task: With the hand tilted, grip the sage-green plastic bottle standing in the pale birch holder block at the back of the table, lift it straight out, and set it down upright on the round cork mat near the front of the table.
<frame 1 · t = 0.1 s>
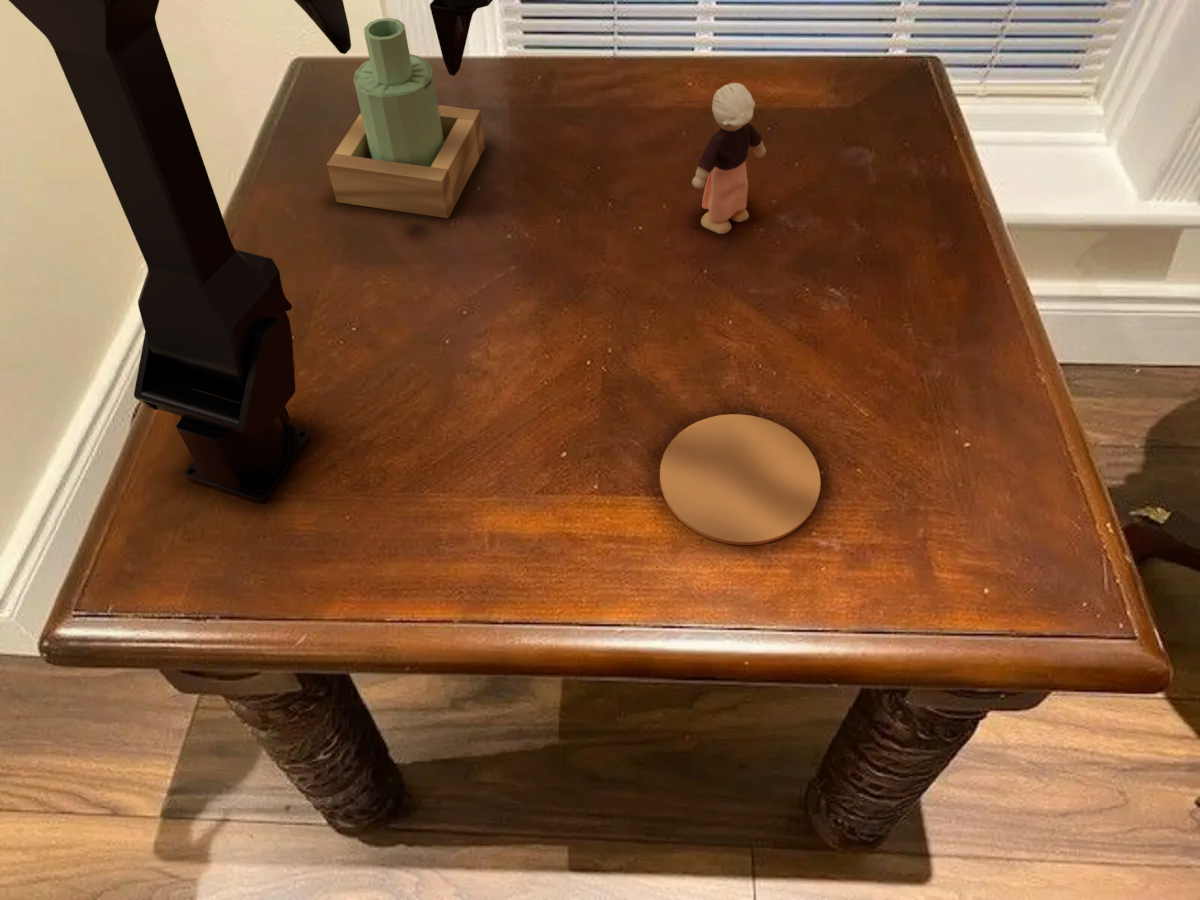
hand: (399, 61, 78), 15 cm above the table, tool pointing down, fingers open, 9 cm apart
bottle: (399, 106, 88), in the holder
mat: (739, 478, 71), on the table
grandmother figurine: (720, 222, 88), on the table
holder: (412, 174, 93), on the table
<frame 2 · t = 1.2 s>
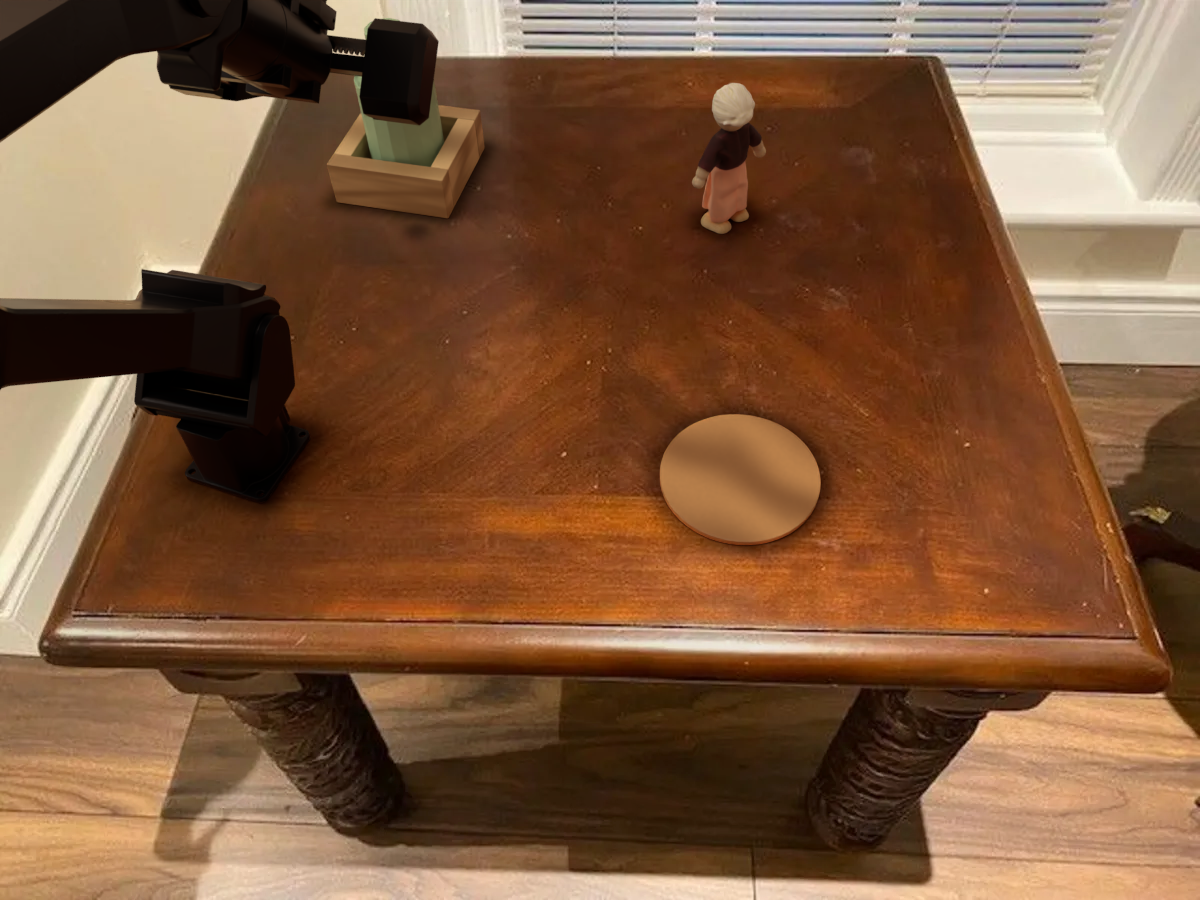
hand: (350, 89, 78), 13 cm above the table, tool tilted 45°, fingers open, 9 cm apart
nothing on the table moved.
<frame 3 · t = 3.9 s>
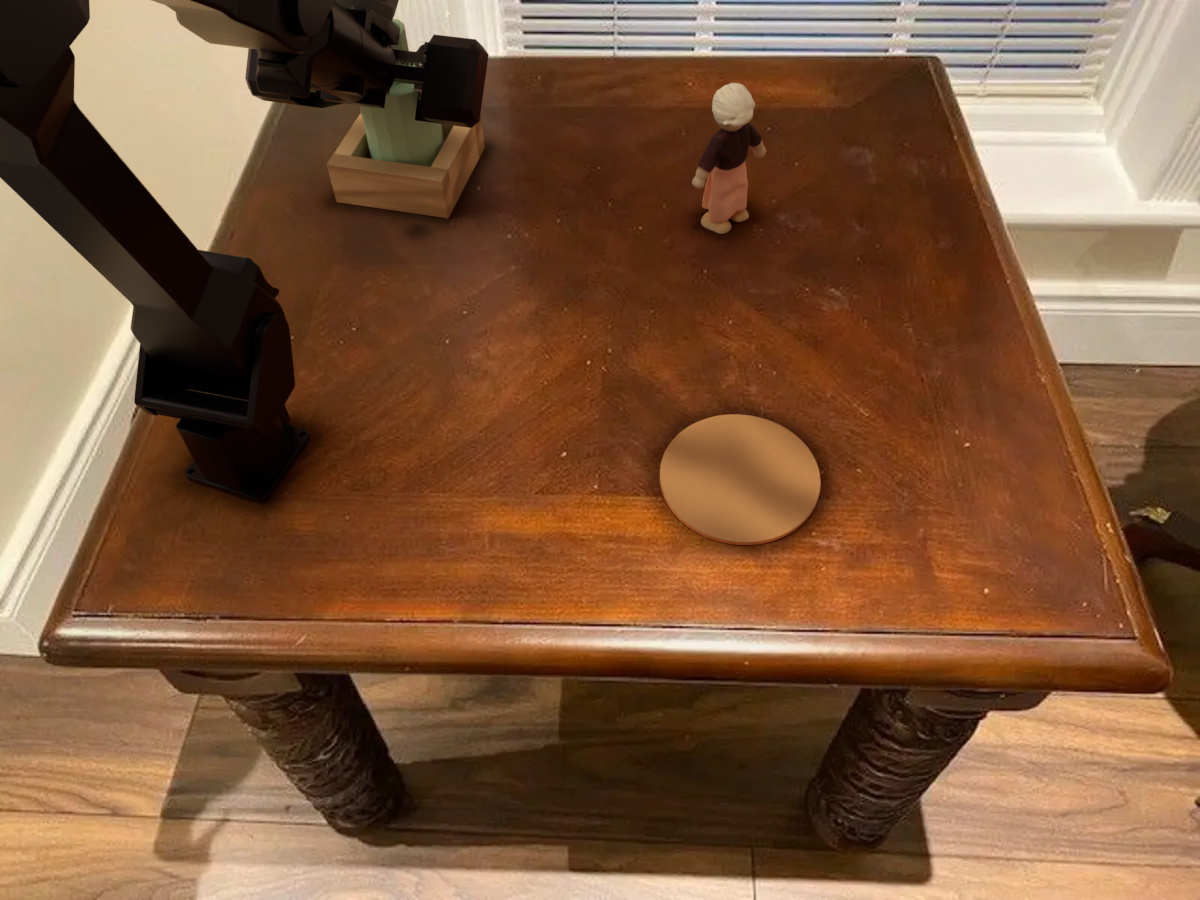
hand: (405, 95, 88), 7 cm above the table, tool tilted 45°, fingers closed on bottle, 6 cm apart
bottle: (399, 106, 88), in the holder, touching gripper
everything else where it was.
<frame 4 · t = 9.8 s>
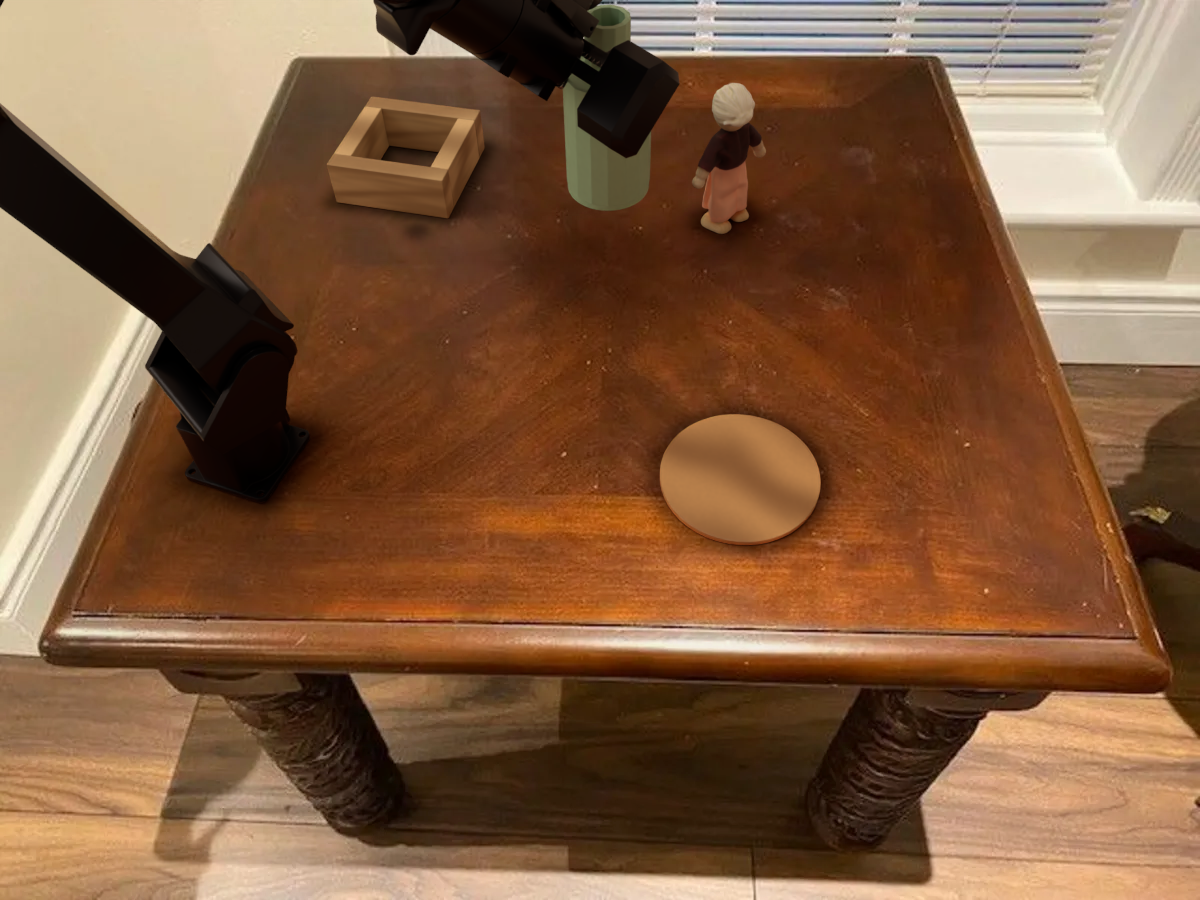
hand: (622, 99, 76), 13 cm above the table, tool tilted 45°, fingers closed on bottle, 6 cm apart
bottle: (607, 106, 76), point 13 cm above the table, touching gripper
everything else where it was.
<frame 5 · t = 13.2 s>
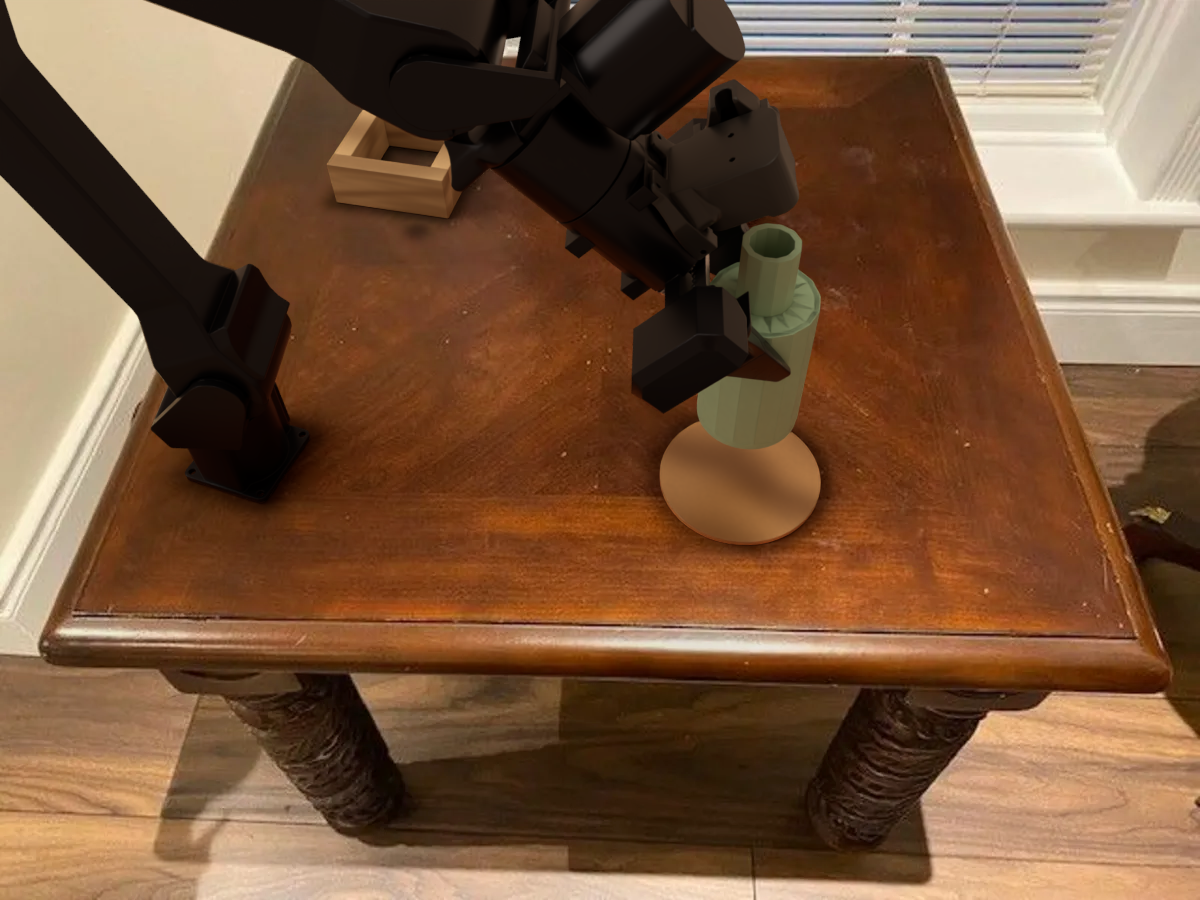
hand: (780, 334, 61), 13 cm above the table, tool tilted 45°, fingers closed on bottle, 6 cm apart
bottle: (758, 334, 61), point 13 cm above the table, touching gripper
everything else where it was.
when the fingers open (8 cm above the table, at t = 16.0 s): bottle stays where it is, resting on mat.
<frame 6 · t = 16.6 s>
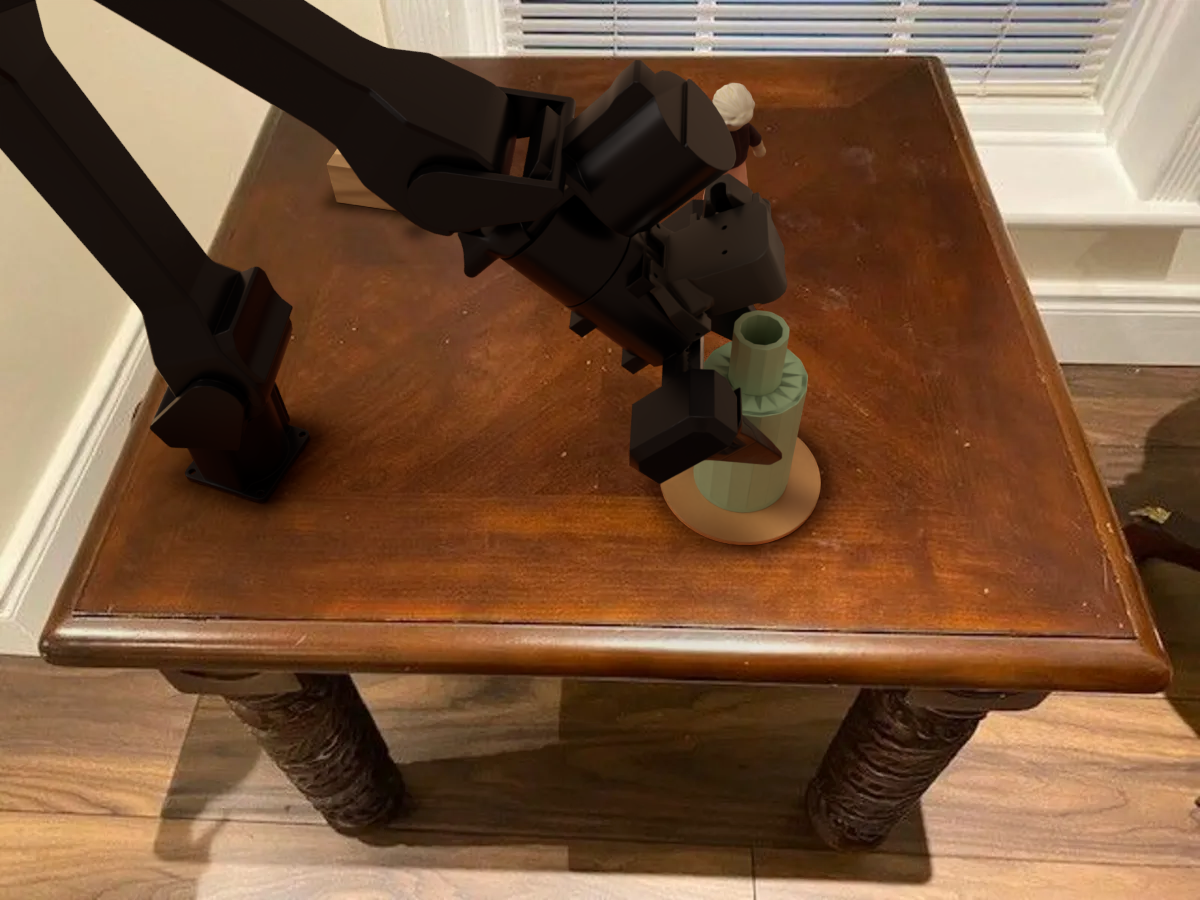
hand: (773, 402, 65), 8 cm above the table, tool tilted 45°, fingers open, 9 cm apart
bottle: (750, 408, 65), on the mat
everything else where it was.
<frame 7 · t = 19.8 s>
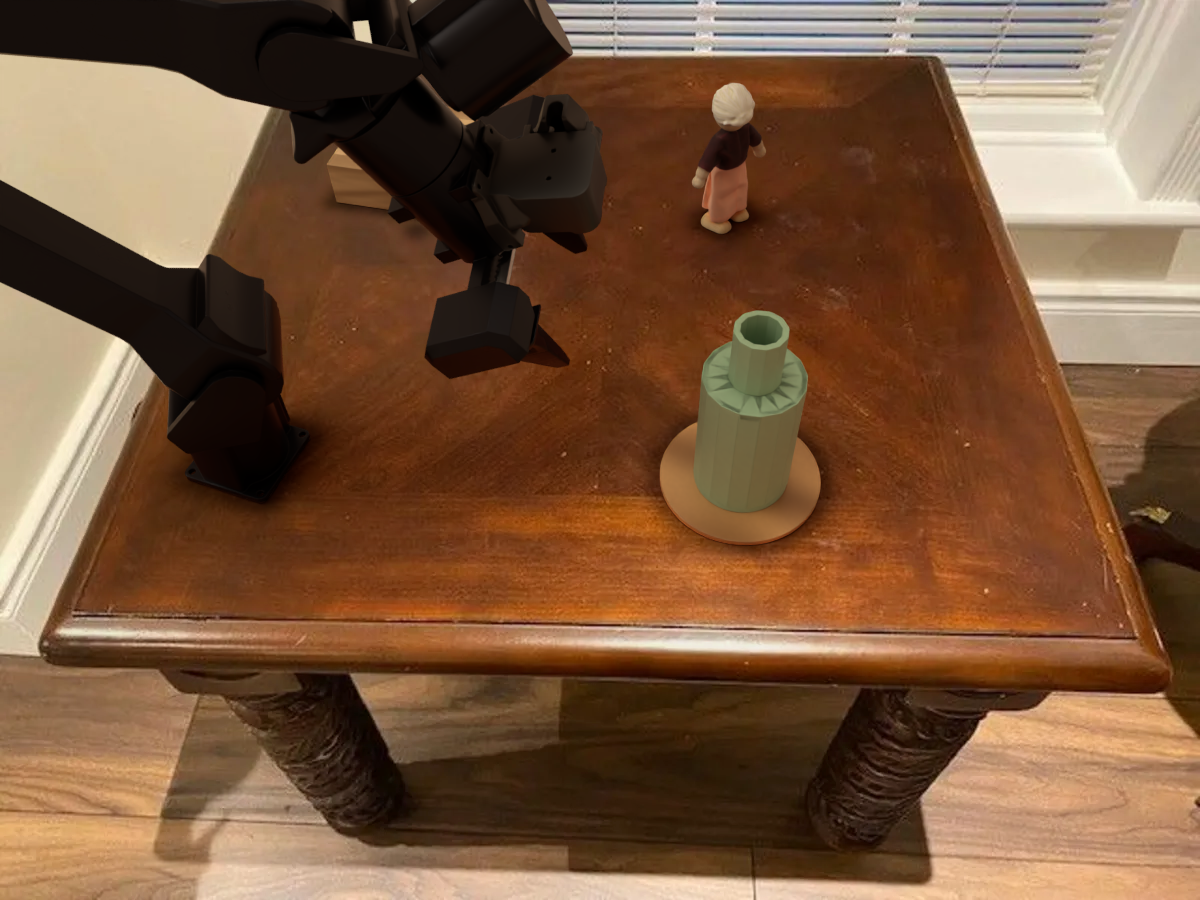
hand: (573, 305, 69), 9 cm above the table, tool tilted 30°, fingers open, 9 cm apart
nothing on the table moved.
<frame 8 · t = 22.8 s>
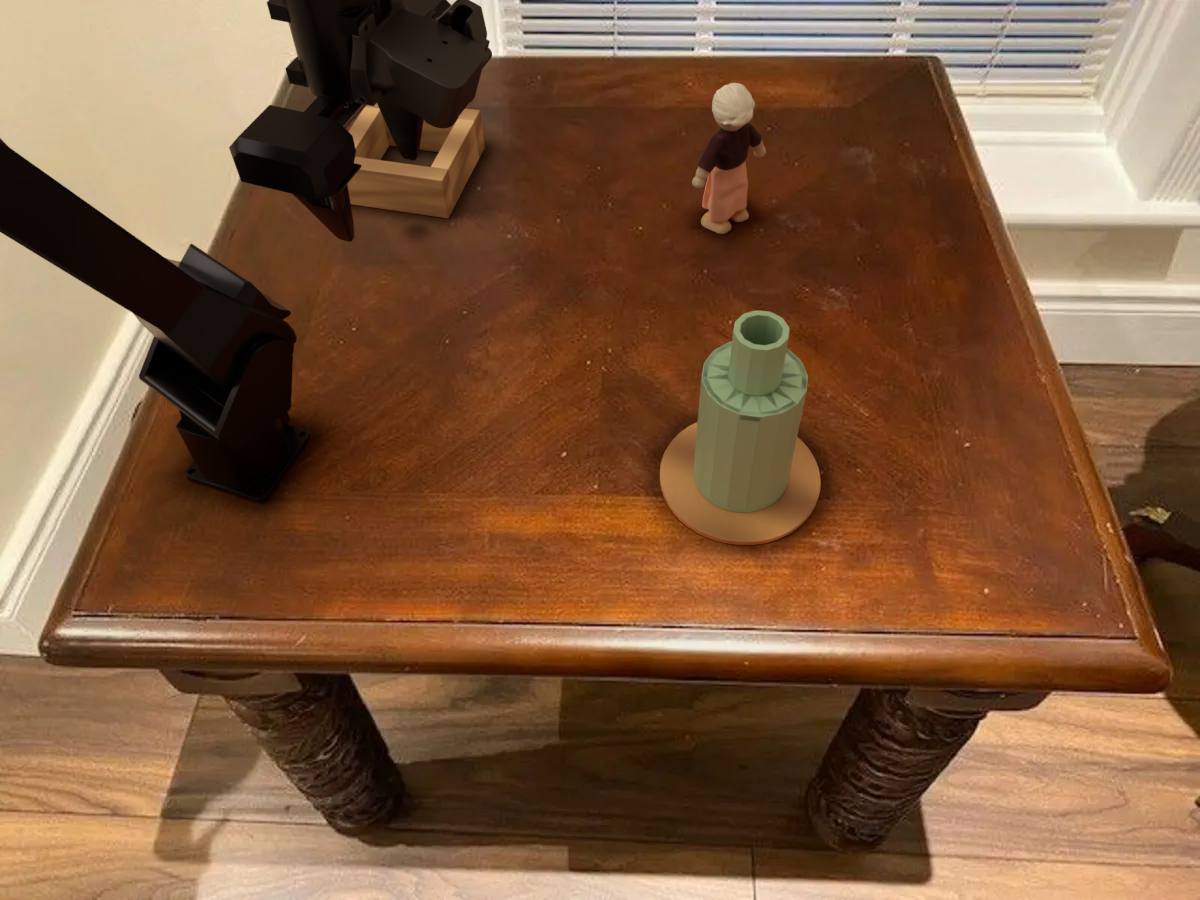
hand: (379, 197, 70), 13 cm above the table, tool pointing down, fingers open, 9 cm apart
nothing on the table moved.
at the end: bottle 0.0 cm off-centre on the mat, point 7.4 cm above the mat's base; bottle tilted 0°; bottle touching mat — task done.
